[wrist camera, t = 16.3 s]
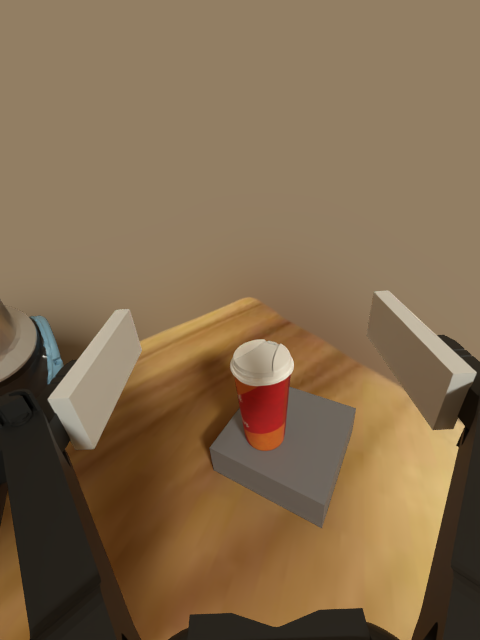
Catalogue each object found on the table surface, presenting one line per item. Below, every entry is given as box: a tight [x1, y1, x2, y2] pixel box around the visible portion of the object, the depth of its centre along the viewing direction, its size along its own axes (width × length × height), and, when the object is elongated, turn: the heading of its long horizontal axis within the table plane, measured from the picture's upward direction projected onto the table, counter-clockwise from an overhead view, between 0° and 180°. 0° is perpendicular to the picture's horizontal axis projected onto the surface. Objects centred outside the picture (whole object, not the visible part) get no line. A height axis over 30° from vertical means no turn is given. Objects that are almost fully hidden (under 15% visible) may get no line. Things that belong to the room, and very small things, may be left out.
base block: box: [210, 387, 356, 528], centre depth 44 cm, size 16×16×5 cm
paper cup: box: [230, 340, 294, 451], centre depth 38 cm, size 8×8×14 cm
